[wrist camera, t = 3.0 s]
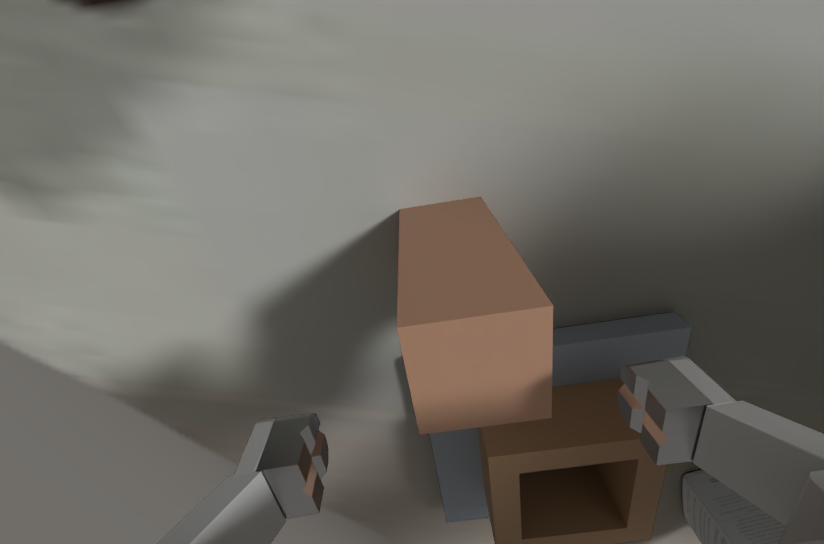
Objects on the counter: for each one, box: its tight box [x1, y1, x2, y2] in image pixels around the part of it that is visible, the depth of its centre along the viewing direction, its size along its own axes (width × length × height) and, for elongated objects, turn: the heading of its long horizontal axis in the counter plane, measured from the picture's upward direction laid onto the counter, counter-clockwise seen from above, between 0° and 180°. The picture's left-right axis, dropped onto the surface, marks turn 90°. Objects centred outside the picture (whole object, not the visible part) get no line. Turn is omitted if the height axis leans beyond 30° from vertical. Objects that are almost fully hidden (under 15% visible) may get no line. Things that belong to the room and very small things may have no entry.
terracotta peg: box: [397, 197, 553, 435], centre depth 15 cm, size 4×4×10 cm
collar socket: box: [430, 312, 692, 544], centre depth 23 cm, size 15×15×6 cm
